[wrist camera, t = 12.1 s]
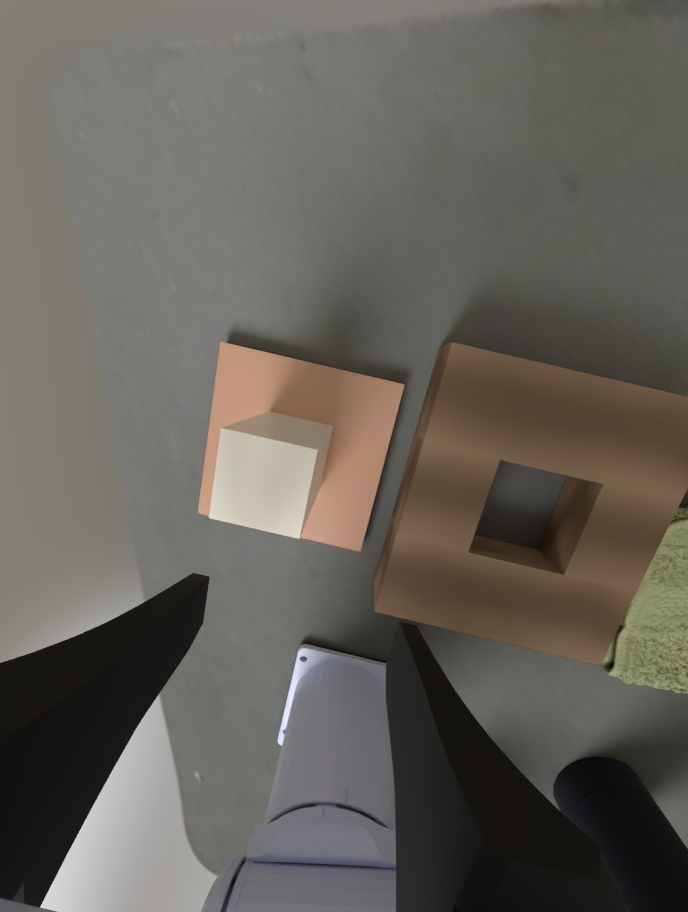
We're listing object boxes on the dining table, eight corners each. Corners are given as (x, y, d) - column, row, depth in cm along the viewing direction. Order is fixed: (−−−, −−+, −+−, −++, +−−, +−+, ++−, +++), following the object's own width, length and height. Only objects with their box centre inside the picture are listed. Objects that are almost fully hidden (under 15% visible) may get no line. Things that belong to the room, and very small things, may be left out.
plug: (320, 487, 21) (299, 538, 14) (258, 473, 21) (209, 517, 14) (333, 426, 20) (317, 450, 13) (269, 411, 20) (220, 427, 14)
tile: (360, 545, 23) (360, 551, 22) (203, 508, 23) (197, 512, 22) (403, 384, 20) (404, 384, 19) (226, 343, 20) (220, 341, 20)
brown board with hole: (570, 629, 23) (599, 665, 20) (373, 582, 23) (374, 611, 20) (674, 402, 20) (728, 406, 17) (439, 347, 20) (452, 342, 17)
